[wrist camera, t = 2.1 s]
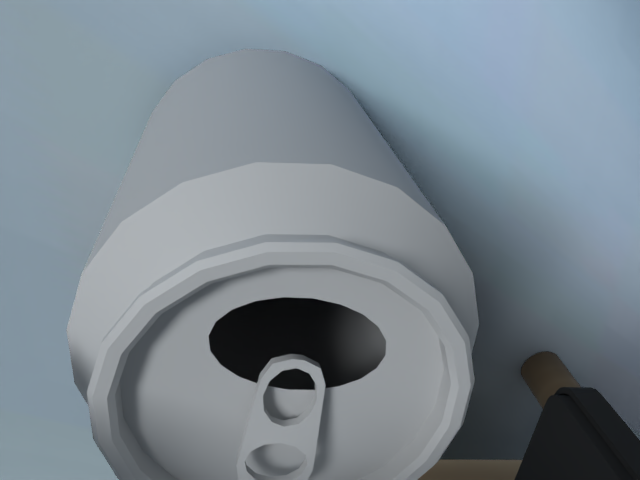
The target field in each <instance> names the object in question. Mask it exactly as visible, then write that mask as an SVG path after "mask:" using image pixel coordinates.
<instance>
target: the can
mask: <svg viewBox="0 0 640 480" xmlns="http://www.w3.org/2000/svg"><path fill="white" fill-rule="evenodd" d="M478 327H479V318H478V310H477V302H476V294H475V286H474V278H473V273H472V271H471V269H470V268H469V266H468V264H467V262H466V261H465V259H464V257H463V255H462V254H461V252H460V250H459V248H458V247H457V245H456V243H455V241H454V240H453V238H452V236H451V234H450V232H449V231H448V229H447V227H446V226H445V224H444V223H443V221H442V220H441V219H440V217H439V216H438V214H437V213H436V211H435V210H434V209H433V207H432V206H431V204H430V203H429V202H428V200H427V199H426V197H425V196H424V195H423V193H422V192H421V190H420V189H419V187H418V186H417V185H416V183H415V182H414V180H413V179H412V178H411V176H410V175H409V173H408V172H407V171H406V169H405V168H404V166H403V165H402V163H401V162H400V161H399V159H398V158H397V156H396V155H395V154H394V152H393V151H392V149H391V148H390V146H389V145H388V144H387V142H386V141H385V139H384V138H383V137H382V135H381V134H380V132H379V131H378V130H377V128H376V127H375V125H374V124H373V122H372V121H371V120H370V118H369V117H368V115H367V114H366V113H365V111H364V110H363V108H362V107H361V106H360V104H359V103H358V101H357V100H356V98H355V97H354V96H353V94H352V93H351V91H350V90H349V89H348V88H347V87H346V86H344V85H343V84H342V83H341V82H340V81H339V80H337V79H336V78H335V77H334V76H333V75H332V74H330V73H329V72H328V71H327V70H326V69H325V68H323V67H322V66H321V65H319V64H316V63H314V62H311V61H309V60H306V59H304V58H301V57H299V56H296V55H294V54H291V53H289V52H286V51H276V50H259V49H242V50H239V51H235V52H231V53H228V54H224V55H220V56H217V57H213V58H209V59H206V60H205V61H203V62H202V63H200V64H199V65H197V66H196V67H195V68H193V69H192V70H190V71H189V72H187V73H186V74H184V75H183V76H181V77H180V78H178V79H177V80H176V81H174V83H173V84H172V85H171V87H170V88H169V89H168V91H167V92H166V94H165V95H164V96H163V98H162V99H161V100H160V102H159V103H158V104H157V106H156V107H155V109H154V110H153V111H152V113H151V116H150V118H149V120H148V123H147V125H146V127H145V130H144V132H143V134H142V136H141V139H140V141H139V143H138V146H137V148H136V150H135V153H134V155H133V157H132V159H131V162H130V164H129V166H128V169H127V171H126V173H125V176H124V178H123V180H122V182H121V185H120V187H119V189H118V192H117V194H116V196H115V198H114V201H113V203H112V205H111V208H110V210H109V212H108V215H107V217H106V219H105V221H104V224H103V226H102V228H101V231H100V233H99V235H98V238H97V240H96V242H95V244H94V247H93V249H92V251H91V254H90V256H89V258H88V261H87V263H86V265H85V267H84V270H83V272H82V275H81V278H80V282H79V286H78V289H77V293H76V297H75V301H74V304H73V308H72V312H71V315H70V319H69V323H68V327H67V336H68V343H69V349H70V356H71V362H72V369H73V375H74V382H75V384H76V386H77V388H78V389H79V391H80V393H81V394H82V396H83V398H84V399H85V401H86V402H87V404H88V406H89V412H90V419H91V426H92V433H93V439H94V441H95V443H96V444H97V446H98V447H99V449H100V451H101V452H102V454H103V455H104V457H105V459H106V460H107V462H108V463H109V465H110V467H111V468H112V470H113V471H114V473H115V475H116V476H117V478H118V479H119V480H418V479H419V478H420V477H421V476H422V475H423V474H425V473H426V472H427V471H428V470H429V469H430V468H432V467H433V466H434V465H435V464H436V463H437V462H438V461H439V459H440V458H441V456H442V455H443V453H444V452H445V450H446V449H447V447H448V446H449V444H450V443H451V441H452V440H453V438H454V437H455V436H456V434H457V433H458V431H459V430H460V428H461V427H462V425H463V423H464V420H465V416H466V412H467V408H468V405H469V401H470V397H471V393H472V390H473V386H474V382H475V378H474V371H473V364H472V356H471V355H472V351H473V347H474V343H475V339H476V335H477V331H478Z"/></svg>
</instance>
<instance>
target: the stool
mask: <svg viewBox="0 0 640 480" xmlns="http://www.w3.org/2000/svg"><path fill="white" fill-rule="evenodd" d="M521 375H522V377H523V379H524V380H525V382H526V383H527V385H528V386H529V388H530V390H531V391H532V393H533V394H534V396H535V397H536V399H537V400H538V402H539V404H540V405H541V407H542V408H543V409H544V406H545V404H546V401H547V399H548V398H549V397H550V396H551V395H554V394H555V393H556V391H557V390H558V389H559V388H561V387H580V385H579V384H578V383H577V381H576V380H575V379H574V377H573V376H572V375H571V373H570V372H569V371H568V369H567V368H566V367H565V365H564V364H563V363H562V361H561V360H560V359H559V357H558V356H557V355H556V354H554V353H552V352H540V353H537V354H535V355H533V356H531V357H530V358H529V359H527V360H526V362H525V363H524V364H523V366H522V369H521ZM521 462H522V460H439V461H438V462H437V463H436V464H435V465H434V466H433V467H432V468H430V469H429V470H428V471H427V472H426V473H425V474H423V475H422V476H421V477H420V478H419V479H418V480H515V477H516V475H517V472H518V470H519V467H520V465H521Z"/></svg>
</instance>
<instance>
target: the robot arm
mask: <svg viewBox="0 0 640 480" xmlns="http://www.w3.org/2000/svg"><path fill="white" fill-rule="evenodd" d="M515 480H640V440H639V439H638V438H637V437H636V436H635V434H634V433H633V432H632V431H631V430H630V428H629V427H628V426H627V425H626V424H625V422H624V421H623V420H622V419H621V418H620V416H619V415H618V414H617V413H616V412H615V410H614V409H613V408H612V407H611V406H610V404H609V403H608V402H607V401H606V400H605V398H604V397H603V396H602V395H601V394H600V393H599V392H598V391H597V390H596V389H593V388H583V387H561V388H559V389H558V390H557V391H556V393H555V394H554V395H551V396H550V397H549V398H548V399H547V401H546V404H545V406H544V409H543V411H542V413H541V416H540V418H539V421H538V423H537V426H536V428H535V431H534V433H533V435H532V438H531V440H530V443H529V445H528V448H527V450H526V453H525V455H524V458H523V460H522V462H521V465H520V467H519V470H518V472H517V475H516V477H515Z"/></svg>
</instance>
